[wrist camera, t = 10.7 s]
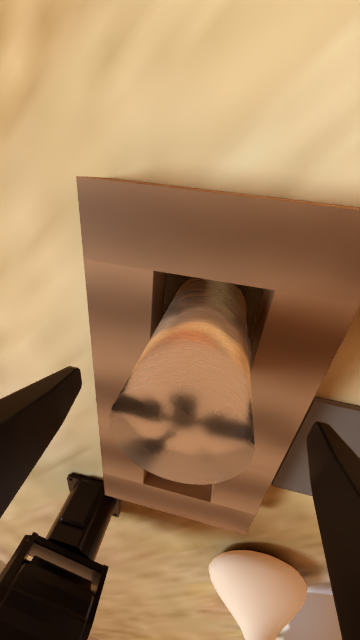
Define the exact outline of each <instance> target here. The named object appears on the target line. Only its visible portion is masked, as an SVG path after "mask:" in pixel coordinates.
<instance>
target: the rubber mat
mask: <svg viewBox="0 0 360 640" xmlns="http://www.w3.org/2000/svg"><path fill="white" fill-rule="evenodd" d="M315 421H320V422H324V423H328V424H329V425H330V426H331V427H332V428H333V429H334V430H335V431H336V432H337V433H338V435H339V436H340V437H341V438H342V439H343V440H344V441H345V442H346V443H347V445H348V446H349V447H350V448H351V449H352V450H353V451H354V452H355V453H356V455H357V456H358V457H359V458H360V406H355V405H351V404H346V403H341V402H336V401H332V400H327V399H322V398H317V397H314V398H313V400H312V402H311V404H310V406H309V408H308V410H307V412H306V414H305V416H304V418H303V420H302V422H301V424H300V426H299V428H298V430H297V432H296V434H295V436H294V438H293V440H292V442H291V444H290V446H289V448H288V450H287V452H286V454H285V456H284V458H283V460H282V462H281V464H280V466H279V468H278V470H277V472H276V474H275V476H274V478H273V480H272V482H271V484H272V486H275V487H279V488H283V489H287V490H291V491H295V492H298V493H302V494H306V495H310V496H313V495H312V490H311V484H310V475H309V464H308V454H307V444H306V438H307V435H308V433H309V431H310V429H311V427H312V425H313V424H314V422H315Z"/></svg>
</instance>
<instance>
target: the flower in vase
mask: <svg viewBox="0 0 360 640" xmlns="http://www.w3.org/2000/svg"><path fill="white" fill-rule="evenodd" d="M209 573H210V578H211V581H212V583H213V585H214V587H215V589H216V591H217V593H218V594H219V596H220V597H221V599H222V600H223V602H224V603H225V605H226V606H227V608H228V609H229V611H230V612H231V614H232V615H233V617H234V618H235V620H236V621H237V623H238V624H239V626H240V628H241V630H242V632H243V635H244V638H245V640H275V639H276V637H277V635H278V634H279V633H280V632H281V630H282V629H283V628H284V627H285V626H286V625H287V624H288V623H289V622H290V621H291V620H292V618H293V617H294V616H295V615H296V614H297V613H298V612H299V610H300V609H301V607H302V605H303V604H304V602H305V600H306V594H307V585H306V583H305V581H304V580H303V578H302V577H301V575H300V574H299V572H298V571H297V570H295V569H294V568H293V567H292V566H290V565H288V564H287V563H285V562H283V561H281V560H279V559H277V558H275V557H273V556H270V555H268V554H264V553H260V552H255V551H249V550H233V551H228V552H224V553H221V554H219V555H217V556H215V557H214V558H213V560H212V562H211V563H210V565H209Z"/></svg>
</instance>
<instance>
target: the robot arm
mask: <svg viewBox="0 0 360 640" xmlns="http://www.w3.org/2000/svg"><path fill="white" fill-rule="evenodd" d="M81 386H82V380H81V373H80V369H79V368H76V367H72V366H69V367H66V368H64V369H62V370H60V371H58V372H56V373H54V374H52V375H50V376H47V377H45V378H43V379H41V380H39V381H37V382H35V383H33V384H31V385H29V386H27V387H25V388H22V389H20V390H18V391H16V392H14V393H12V394H10V395H8V396H6V397H4V398H2V399H0V518H1V516H2V515H3V513H4V512H5V510H6V509H7V507H8V506H9V504H10V503H11V501H12V500H13V498H14V497H15V495H16V494H17V492H18V490H19V489H20V487H21V486H22V484H23V483H24V481H25V480H26V478H27V477H28V475H29V474H30V472H31V471H32V469H33V468H34V466H35V465H36V463H37V462H38V460H39V459H40V457H41V456H42V454H43V453H44V451H45V449H46V448H47V446H48V445H49V443H50V442H51V440H52V439H53V437H54V436H55V434H56V433H57V431H58V430H59V428H60V427H61V425H62V423H63V422H64V420H65V418H66V416H67V414H68V412H69V410H70V408H71V406H72V405H73V403H74V401H75V399H76V397H77V395H78V393H79V391H80V389H81ZM306 444H307V454H308V464H309V475H310V484H311V490H312V495H313V500H314V505H315V510H316V515H317V520H318V524H319V529H320V534H321V539H322V544H323V549H324V553H325V558H326V563H327V568H328V573H329V578H330V582H331V587H332V592H333V597H334V602H335V607H336V611H337V616H338V621H339V626H340V630H341V636H342V640H360V458H359V457H358V456H357V455H356V453H355V452H354V451H353V450H352V449H351V448H350V447H349V446H348V445H347V443H346V442H345V441H344V440H343V439H342V438H341V437H340V436H339V435H338V433H337V432H336V431H335V430H334V429H333V428H332V427H331V426H330V425H329V424H328V423H324V422H320V421H315V422H314V424H313V425H312V427H311V429H310V431H309V433H308V435H307V438H306ZM67 481H68V486H69V490H70V494H69V496H68V498H67V500H66V501H65V503H64V505H63V507H62V509H61V511H60V512H59V514H58V516H57V518H56V520H55V522H54V524H53V525H52V527H51V529H50V531H49V533H48V535H47V536H46V538H43V537H41V536H39V535H38V534H37V533H35V532H33V534H32V535H25V536H24V538H23V540H22V541H21V543H20V545H19V546H18V548H17V550H16V551H15V553H14V554H13V556H12V557H11V559H10V560H9V562H8V563H7V565H6V567H5V568H4V570H3V571H2V573H1V574H0V640H87V639H88V636H89V633H90V630H91V627H92V624H93V621H94V617H95V614H96V610H97V606H98V603H99V599H100V596H101V592H102V589H103V585H104V581H105V578H106V574H107V571H108V566H106V565H101V564H99V563H97V562H95V561H94V560H95V558H96V555H97V552H98V550H99V547H100V545H101V542H102V539H103V537H104V534H105V531H106V529H107V526H108V524H109V521H110V518H111V516H115V517H119V514H120V499H117V498H114V497H110V496H107V495H105V490H104V483H103V482H99V481H96V480H92V479H89V478H85V477H82V476H78V475H74V474H69V475H68V477H67ZM28 555H29V556H31V557H33V559H32V560H31V561H29V560H27V557H28Z"/></svg>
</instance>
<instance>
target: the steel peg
mask: <svg viewBox="0 0 360 640" xmlns="http://www.w3.org/2000/svg"><path fill="white" fill-rule="evenodd" d="M109 426H110V431H111V434H112V436H113V439H114V441H115V442H116V444H117V445H118V447H119V448H120V449H121V450H122V452H123V453H124V454H125V455H126V456H127V457H128V458H129V459H131V460H132V461H133V462H134V463H136V464H137V465H138V466H140V467H141V468H143V469H145V470H147V471H148V472H150V473H153V474H155V475H157V476H159V477H162V478H165V479H168V480H171V481H175V482H180V483H186V484H196V485H206V484H215V483H220V482H224V481H227V480H229V479H232V478H234V477H236V476H237V475H239V474H241V473H242V472H243V471H244V470H245V469H246V468H247V467H248V466H249V464H250V463H251V461H252V459H253V456H254V452H255V439H254V424H253V408H252V393H251V377H250V362H249V347H248V331H247V316H246V303H245V299H244V296H243V294H242V292H241V291H240V289H239V288H238V287H237V286H236V285H235V284H233V283H227V282H221V281H215V280H208V279H202V278H196V277H193V278H190V279H189V280H187V281H186V282H185V283H183V285H182V286H181V287H180V288H179V290H178V291H177V293H176V295H175V296H174V298H173V300H172V302H171V303H170V305H169V307H168V309H167V311H166V312H165V314H164V316H163V318H162V319H161V321H160V323H159V325H158V326H157V328H156V330H155V332H154V334H153V335H152V337H151V339H150V341H149V342H148V344H147V346H146V348H145V349H144V351H143V353H142V355H141V357H140V358H139V360H138V362H137V364H136V365H135V367H134V369H133V371H132V372H131V374H130V376H129V378H128V380H127V381H126V383H125V385H124V387H123V388H122V390H121V392H120V394H119V395H118V397H117V399H116V401H115V403H114V404H113V406H112V409H111V411H110V415H109Z"/></svg>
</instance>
